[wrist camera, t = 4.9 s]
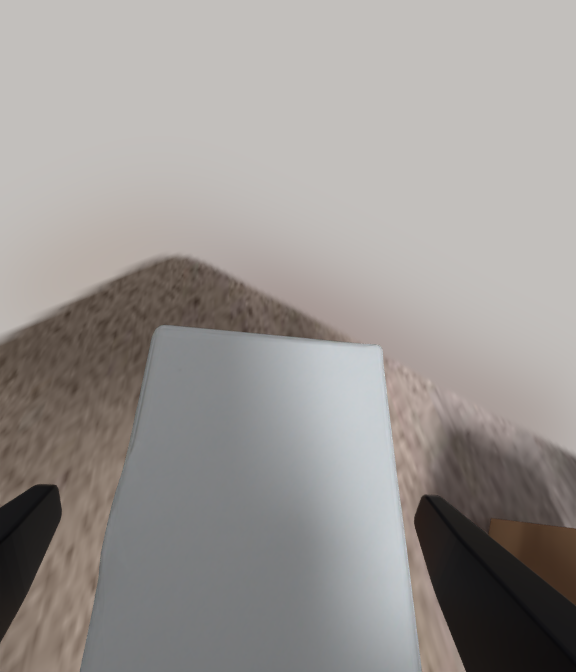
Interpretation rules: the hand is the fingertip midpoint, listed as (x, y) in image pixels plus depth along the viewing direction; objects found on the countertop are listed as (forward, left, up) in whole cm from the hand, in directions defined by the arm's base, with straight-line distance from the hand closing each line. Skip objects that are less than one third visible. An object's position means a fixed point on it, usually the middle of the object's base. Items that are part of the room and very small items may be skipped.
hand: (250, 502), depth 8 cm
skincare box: (0, 0, -8) cm, 8 cm away
